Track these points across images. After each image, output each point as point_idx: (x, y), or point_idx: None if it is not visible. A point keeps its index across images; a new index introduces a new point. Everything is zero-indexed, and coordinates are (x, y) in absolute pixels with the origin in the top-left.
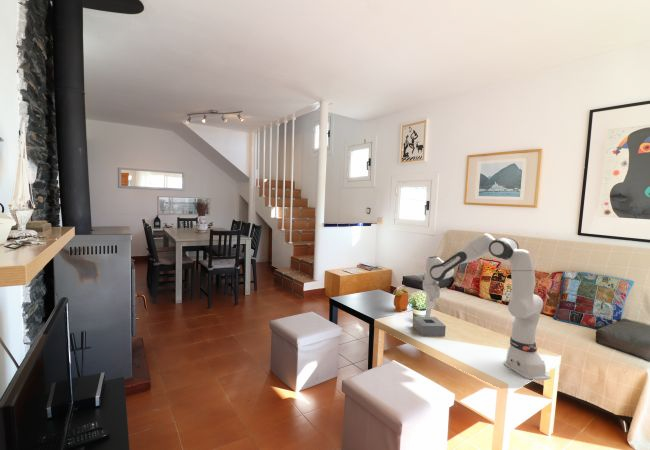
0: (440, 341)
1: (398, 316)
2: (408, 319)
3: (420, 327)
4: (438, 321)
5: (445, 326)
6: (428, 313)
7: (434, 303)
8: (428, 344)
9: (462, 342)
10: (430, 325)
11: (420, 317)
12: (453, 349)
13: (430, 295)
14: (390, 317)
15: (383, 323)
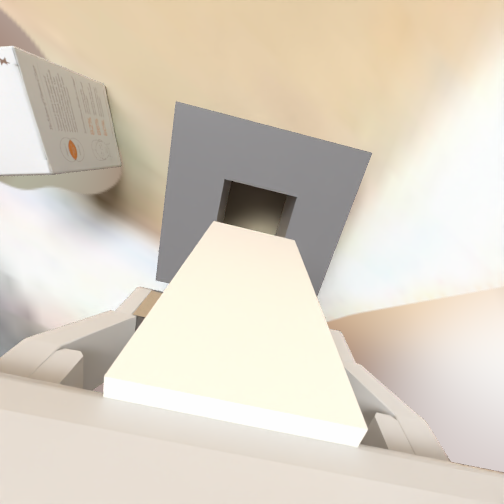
0: (388, 227)
1: (23, 248)
2: (69, 217)
3: None
4: (275, 148)
5: (369, 154)
6: (68, 93)
7: (304, 272)
8: (387, 303)
9: (461, 99)
10: (323, 262)
11: (172, 239)
12: (489, 224)
13: None
14: (43, 297)
15: None
